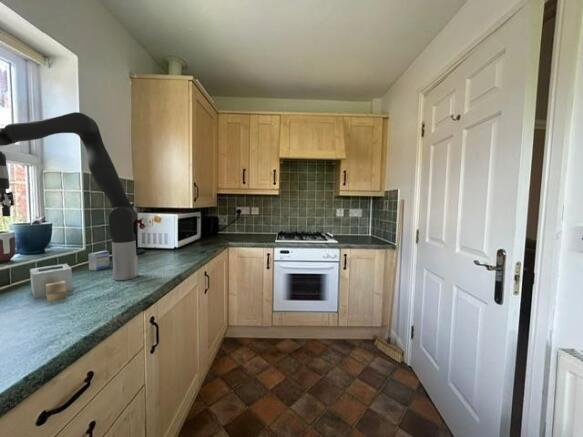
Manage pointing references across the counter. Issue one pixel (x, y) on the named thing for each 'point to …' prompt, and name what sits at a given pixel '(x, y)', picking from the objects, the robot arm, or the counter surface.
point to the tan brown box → (56, 291)
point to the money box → (50, 278)
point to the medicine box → (98, 260)
